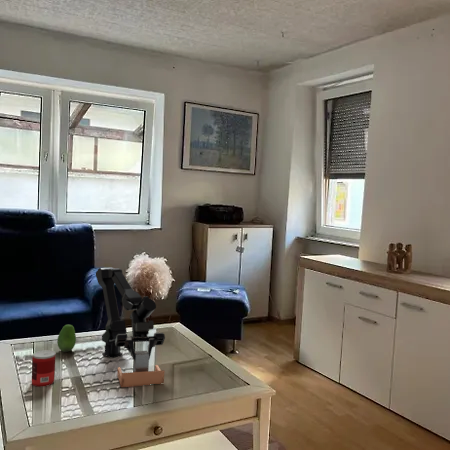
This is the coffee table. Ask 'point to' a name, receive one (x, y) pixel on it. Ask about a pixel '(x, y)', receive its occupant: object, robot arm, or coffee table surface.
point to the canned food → (43, 368)
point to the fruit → (66, 338)
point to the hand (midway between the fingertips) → (141, 359)
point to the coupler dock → (140, 377)
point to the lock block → (141, 361)
